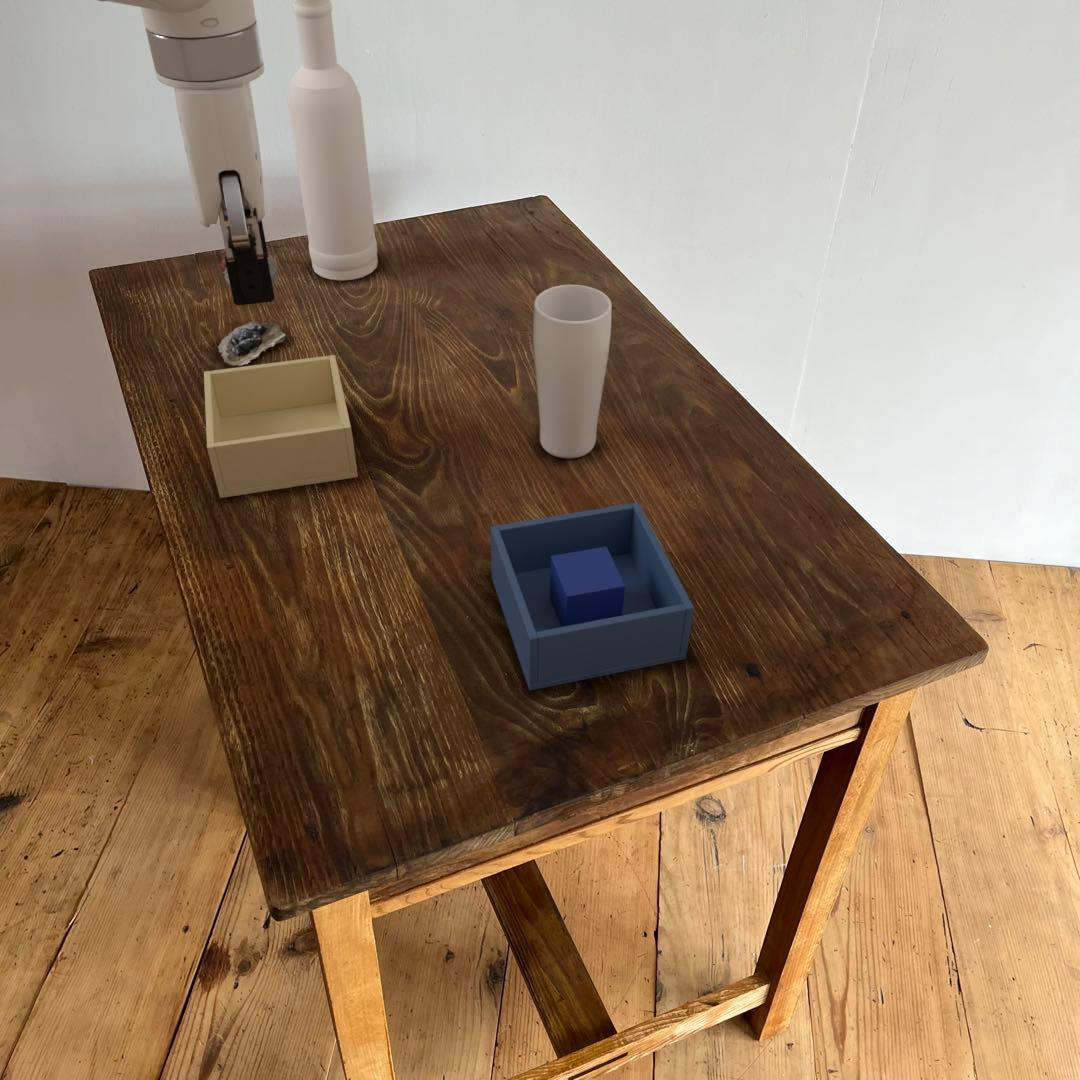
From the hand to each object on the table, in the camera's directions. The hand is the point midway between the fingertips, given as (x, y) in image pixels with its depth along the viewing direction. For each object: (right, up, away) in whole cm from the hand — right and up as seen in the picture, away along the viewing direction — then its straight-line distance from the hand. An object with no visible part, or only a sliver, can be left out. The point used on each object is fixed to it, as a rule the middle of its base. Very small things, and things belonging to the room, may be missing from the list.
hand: (252, 282), depth 84 cm
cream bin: (0, -13, +11) cm, 17 cm away
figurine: (0, -1, +1) cm, 1 cm away
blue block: (+27, -27, -5) cm, 39 cm away
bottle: (0, +12, +39) cm, 40 cm away
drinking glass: (+26, -12, +12) cm, 32 cm away
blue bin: (+27, -27, -4) cm, 39 cm away
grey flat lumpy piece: (-7, -1, +25) cm, 26 cm away
